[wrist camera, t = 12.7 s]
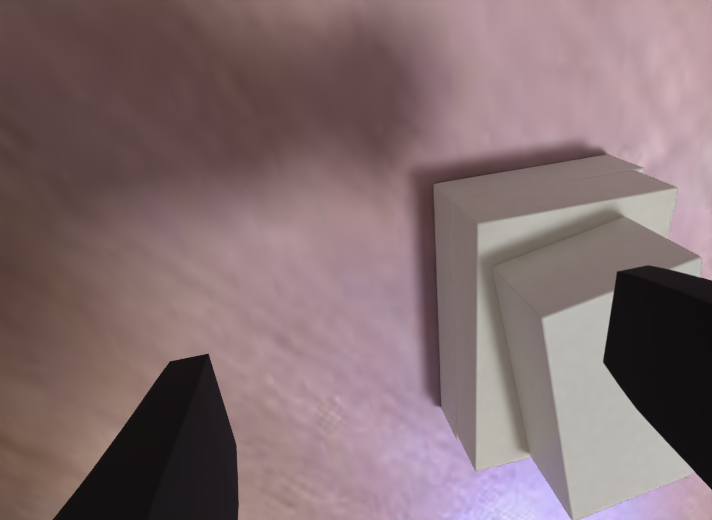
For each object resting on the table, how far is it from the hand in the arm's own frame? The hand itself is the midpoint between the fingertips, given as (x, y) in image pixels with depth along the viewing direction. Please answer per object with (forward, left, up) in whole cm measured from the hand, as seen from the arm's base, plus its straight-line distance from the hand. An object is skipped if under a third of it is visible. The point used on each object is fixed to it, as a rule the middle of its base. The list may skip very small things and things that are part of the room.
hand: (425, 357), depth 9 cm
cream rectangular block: (+7, -6, -6) cm, 11 cm away
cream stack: (+7, -6, -10) cm, 14 cm away
